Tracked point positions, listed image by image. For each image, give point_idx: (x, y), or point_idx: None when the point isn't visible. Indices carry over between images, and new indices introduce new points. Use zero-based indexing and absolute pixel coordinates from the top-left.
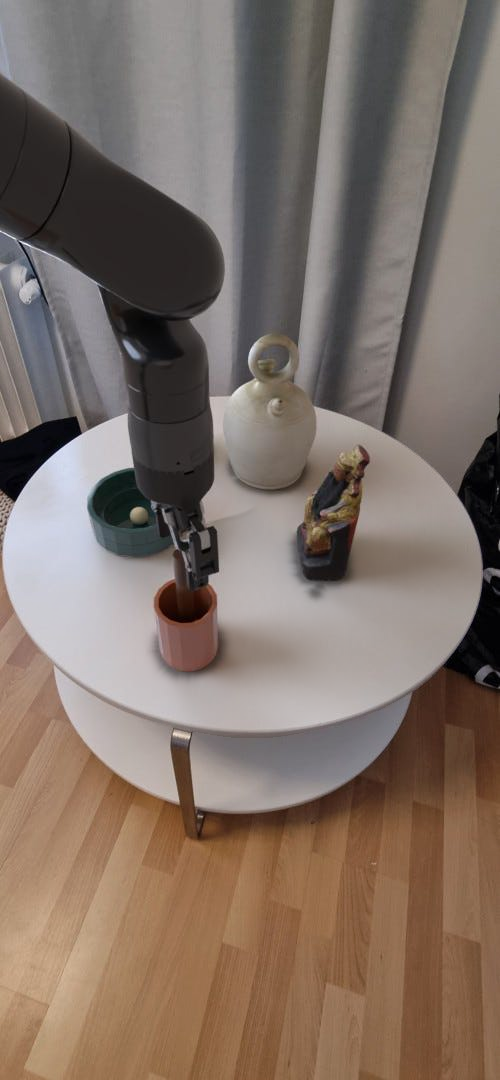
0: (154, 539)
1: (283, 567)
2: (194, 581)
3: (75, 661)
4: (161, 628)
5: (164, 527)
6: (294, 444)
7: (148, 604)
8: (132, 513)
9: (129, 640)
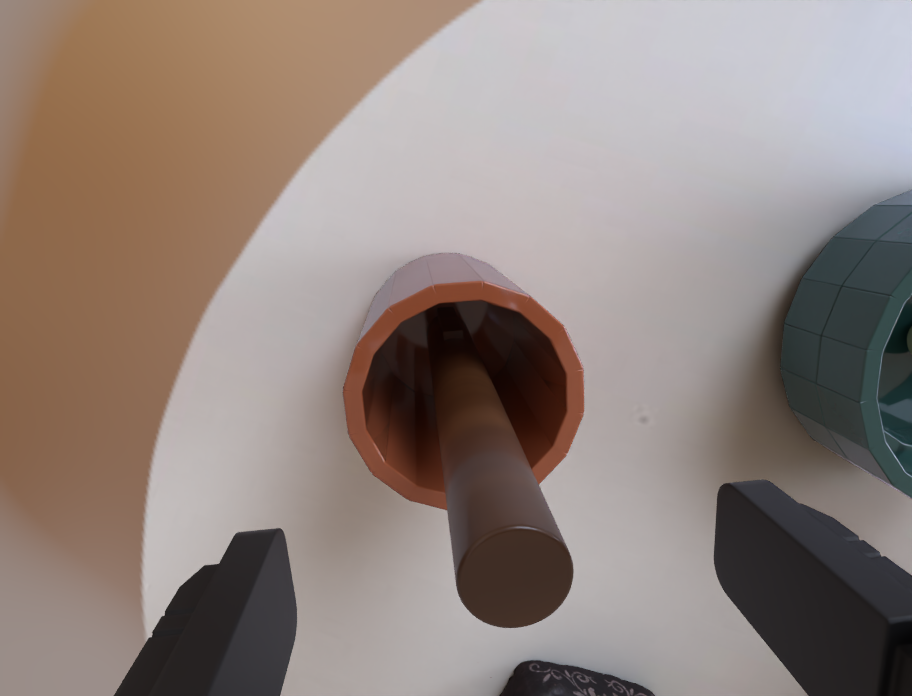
0: (826, 360)
1: (581, 625)
2: (158, 638)
3: (525, 3)
4: (422, 279)
5: (771, 559)
6: None
7: (624, 268)
8: None
9: (530, 181)
